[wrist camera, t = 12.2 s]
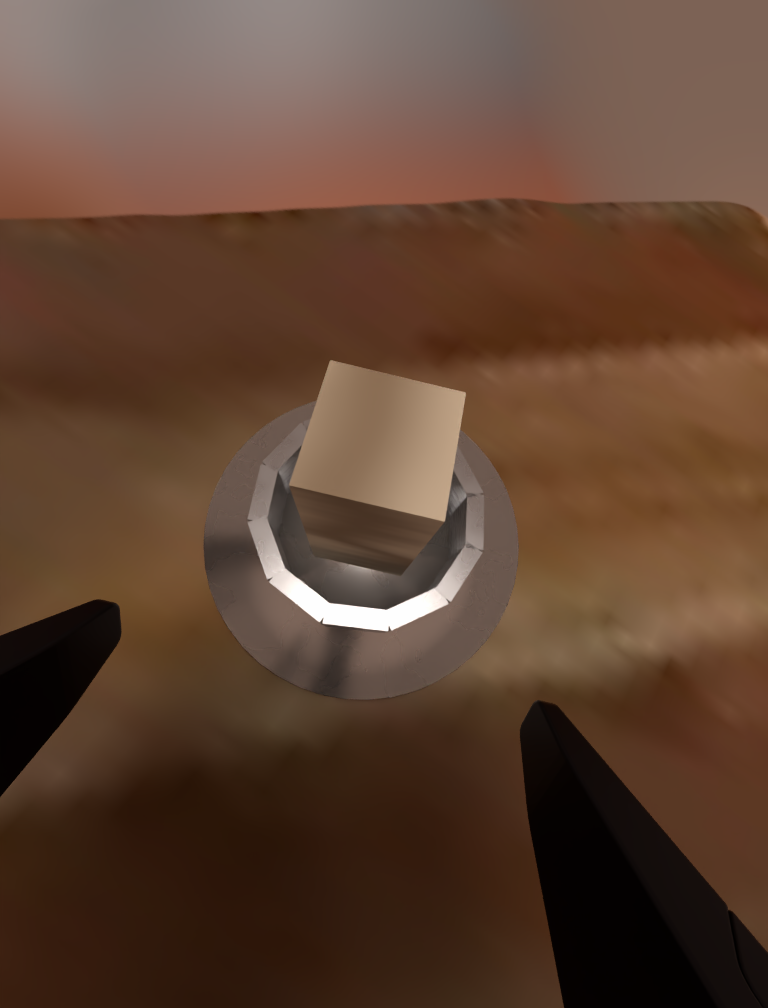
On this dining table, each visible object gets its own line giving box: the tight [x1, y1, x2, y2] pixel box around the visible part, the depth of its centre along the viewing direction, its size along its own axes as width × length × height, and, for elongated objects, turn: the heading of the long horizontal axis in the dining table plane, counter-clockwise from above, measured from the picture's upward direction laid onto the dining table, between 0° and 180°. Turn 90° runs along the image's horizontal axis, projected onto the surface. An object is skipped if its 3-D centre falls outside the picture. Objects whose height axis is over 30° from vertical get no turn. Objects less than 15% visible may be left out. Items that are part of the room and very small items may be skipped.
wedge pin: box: [289, 360, 466, 576], centre depth 16 cm, size 4×4×9 cm
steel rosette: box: [204, 401, 519, 700], centre depth 19 cm, size 16×16×4 cm
